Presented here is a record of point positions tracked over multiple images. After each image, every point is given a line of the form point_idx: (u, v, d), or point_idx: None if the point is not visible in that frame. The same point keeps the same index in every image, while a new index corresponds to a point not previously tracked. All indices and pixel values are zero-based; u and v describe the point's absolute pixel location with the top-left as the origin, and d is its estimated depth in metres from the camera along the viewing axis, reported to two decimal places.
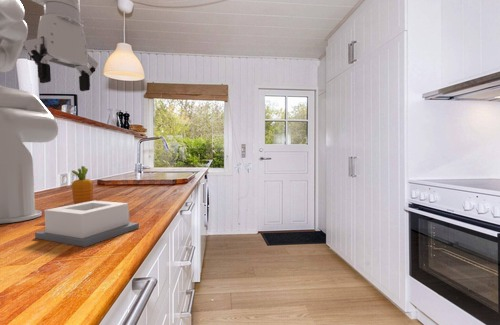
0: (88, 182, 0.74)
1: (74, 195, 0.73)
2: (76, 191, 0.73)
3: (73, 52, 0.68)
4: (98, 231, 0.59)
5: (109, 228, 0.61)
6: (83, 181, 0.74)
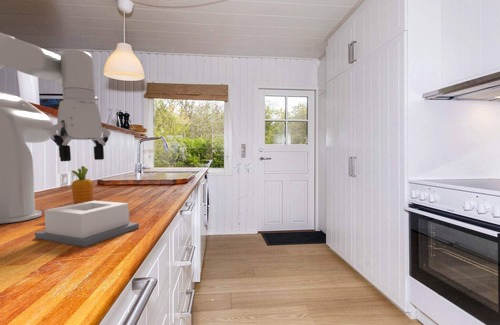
0: (88, 182, 0.74)
1: (74, 195, 0.73)
2: (76, 191, 0.73)
3: (89, 129, 0.75)
4: (98, 231, 0.59)
5: (109, 228, 0.61)
6: (83, 181, 0.74)
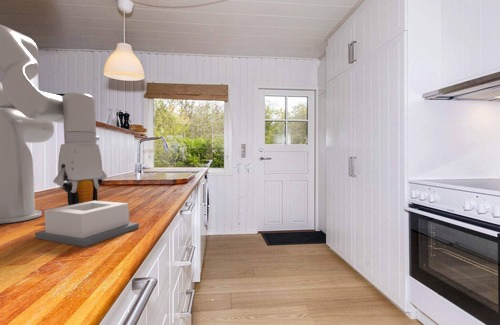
0: (88, 182, 0.74)
1: None
2: (76, 191, 0.73)
3: (90, 170, 0.75)
4: (98, 231, 0.59)
5: (109, 228, 0.61)
6: (83, 181, 0.74)
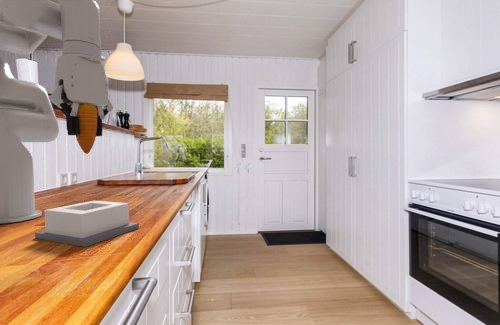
0: (91, 107, 0.61)
1: None
2: None
3: (94, 93, 0.62)
4: (98, 231, 0.59)
5: (109, 228, 0.61)
6: (85, 104, 0.60)
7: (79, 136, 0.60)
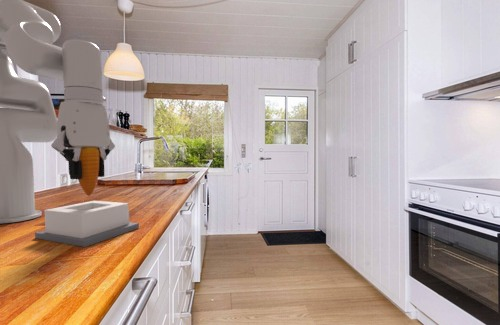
0: (93, 149, 0.62)
1: None
2: (79, 160, 0.60)
3: (95, 135, 0.62)
4: (98, 231, 0.59)
5: (109, 228, 0.61)
6: (87, 148, 0.61)
7: (81, 179, 0.61)
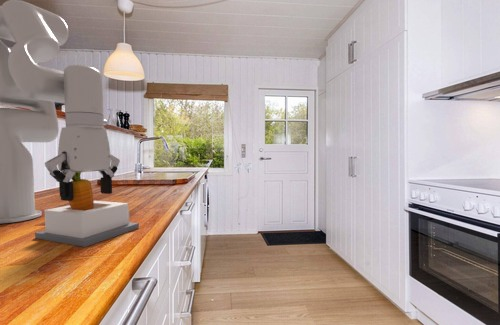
0: (85, 183, 0.60)
1: None
2: None
3: (96, 159, 0.63)
4: (98, 231, 0.59)
5: (109, 228, 0.61)
6: (79, 183, 0.59)
7: None
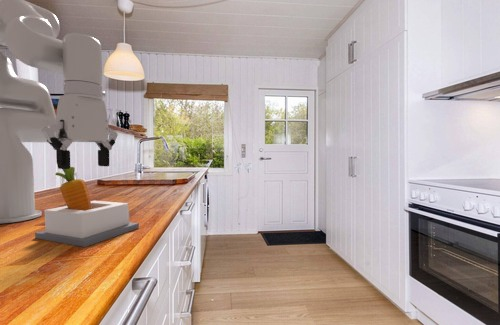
0: (79, 182, 0.61)
1: (67, 200, 0.60)
2: (68, 195, 0.60)
3: (94, 130, 0.62)
4: (98, 231, 0.59)
5: (109, 228, 0.61)
6: (73, 182, 0.60)
7: None
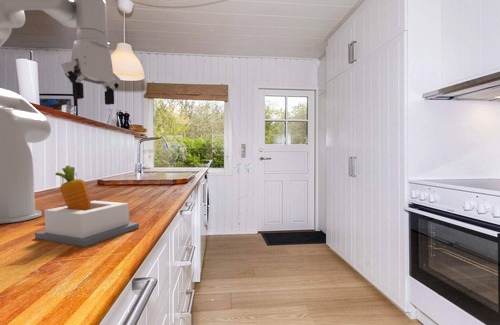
0: (79, 182, 0.61)
1: (67, 200, 0.60)
2: (68, 195, 0.60)
3: (101, 71, 0.77)
4: (98, 231, 0.59)
5: (109, 228, 0.61)
6: (73, 182, 0.60)
7: None
